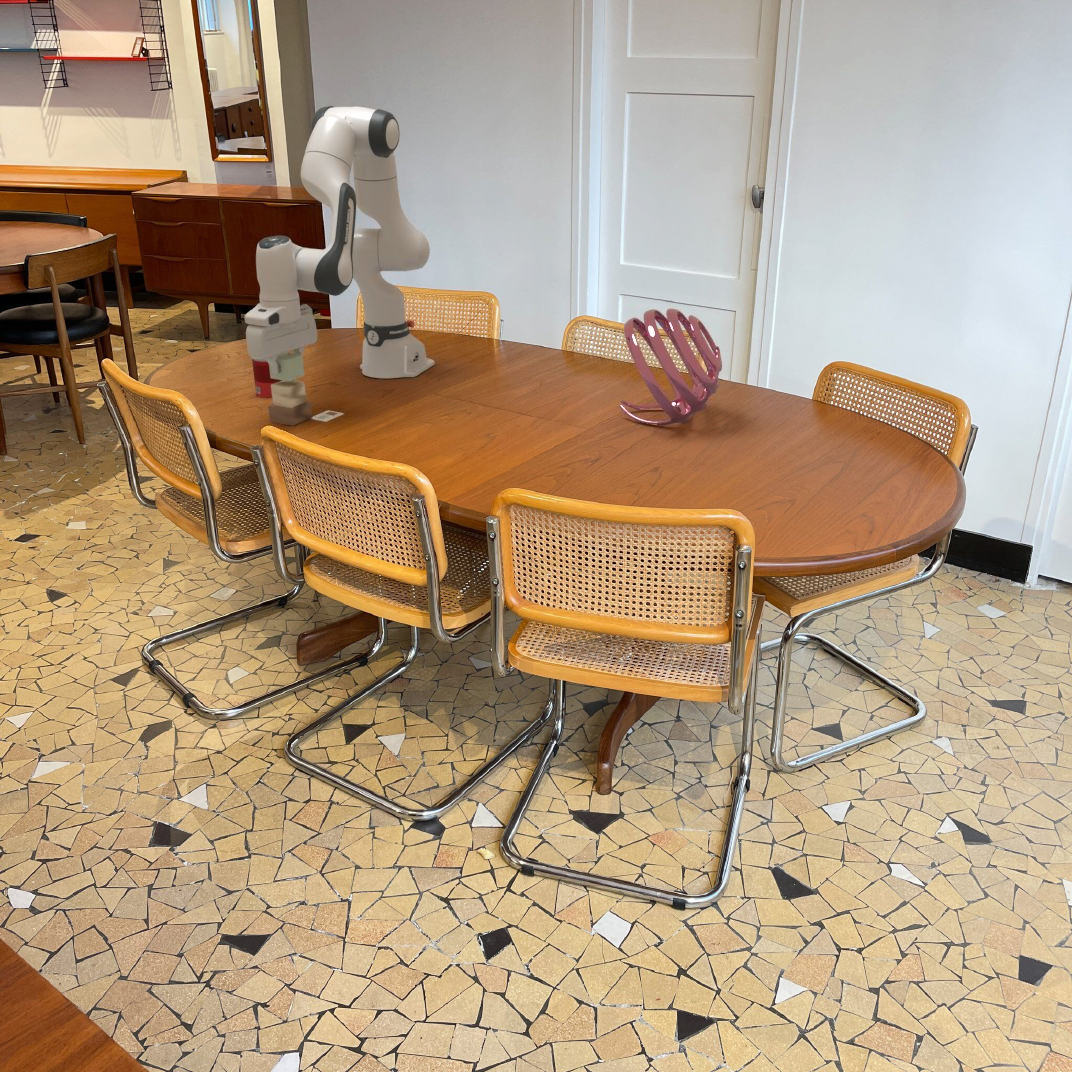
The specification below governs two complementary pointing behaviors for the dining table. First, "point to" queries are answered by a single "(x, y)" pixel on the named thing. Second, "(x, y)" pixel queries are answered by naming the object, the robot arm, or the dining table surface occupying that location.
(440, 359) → the dining table surface
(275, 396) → the birch cube
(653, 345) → the spiral basket
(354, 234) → the robot arm
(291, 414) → the walnut base
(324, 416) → the board
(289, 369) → the sage cube
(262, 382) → the canned food
